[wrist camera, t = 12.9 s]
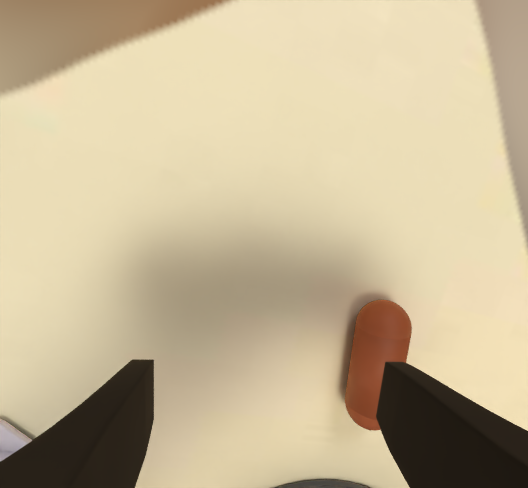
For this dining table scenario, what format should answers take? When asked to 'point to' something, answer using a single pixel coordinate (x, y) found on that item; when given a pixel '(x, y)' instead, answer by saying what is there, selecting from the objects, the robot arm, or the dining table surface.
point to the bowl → (323, 484)
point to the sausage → (374, 357)
